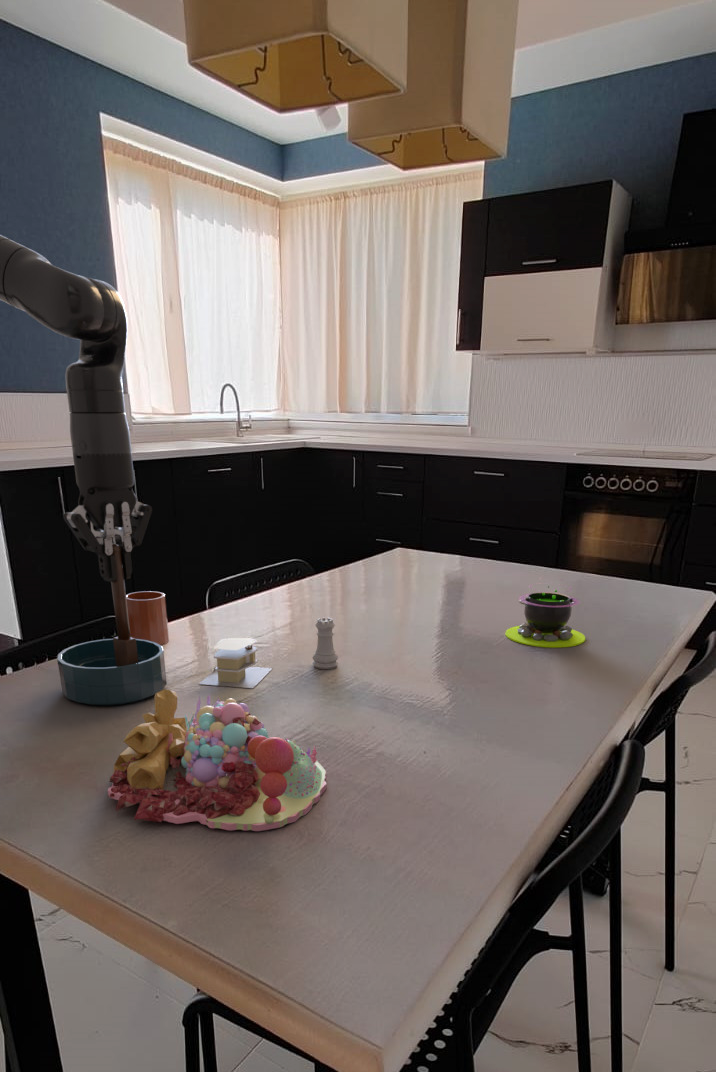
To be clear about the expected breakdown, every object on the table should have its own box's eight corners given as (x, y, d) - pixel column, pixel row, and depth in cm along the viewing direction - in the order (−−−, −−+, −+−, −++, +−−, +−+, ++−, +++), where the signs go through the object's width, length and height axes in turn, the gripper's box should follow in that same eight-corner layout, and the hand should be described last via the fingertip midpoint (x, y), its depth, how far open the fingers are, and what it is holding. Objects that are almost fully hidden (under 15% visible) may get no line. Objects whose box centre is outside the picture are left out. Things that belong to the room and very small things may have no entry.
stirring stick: (116, 666, 114) (101, 543, 107) (126, 663, 116) (111, 541, 109) (129, 670, 113) (114, 545, 106) (139, 667, 114) (125, 543, 107)
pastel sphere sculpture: (77, 828, 80) (65, 747, 76) (146, 737, 101) (138, 670, 98) (317, 836, 79) (316, 754, 75) (335, 742, 100) (334, 675, 97)
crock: (121, 645, 139) (115, 596, 136) (152, 636, 145) (147, 589, 141) (146, 652, 136) (141, 602, 132) (177, 643, 141) (173, 594, 137)
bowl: (42, 693, 116) (36, 655, 114) (124, 668, 128) (120, 633, 125) (105, 716, 108) (100, 675, 106) (187, 687, 119) (184, 650, 117)
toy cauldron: (575, 626, 154) (582, 571, 150) (594, 648, 140) (602, 588, 136) (500, 625, 155) (504, 570, 150) (511, 646, 141) (517, 587, 136)
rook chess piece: (338, 670, 128) (338, 623, 125) (311, 669, 128) (310, 623, 124) (338, 661, 132) (338, 616, 129) (312, 661, 132) (312, 616, 129)
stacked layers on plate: (253, 688, 119) (251, 654, 117) (198, 684, 121) (196, 650, 119) (272, 668, 128) (271, 636, 126) (221, 664, 130) (219, 633, 128)
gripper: (126, 446, 109) (138, 568, 116) (39, 450, 99) (58, 584, 106) (161, 448, 105) (172, 575, 112) (74, 453, 95) (92, 592, 102)
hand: (117, 579), depth 109 cm, fingers closed on stirring stick, 2 cm apart
